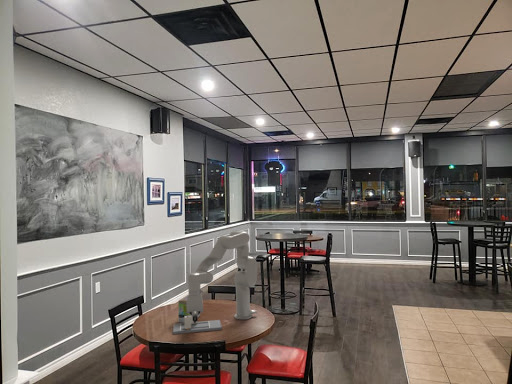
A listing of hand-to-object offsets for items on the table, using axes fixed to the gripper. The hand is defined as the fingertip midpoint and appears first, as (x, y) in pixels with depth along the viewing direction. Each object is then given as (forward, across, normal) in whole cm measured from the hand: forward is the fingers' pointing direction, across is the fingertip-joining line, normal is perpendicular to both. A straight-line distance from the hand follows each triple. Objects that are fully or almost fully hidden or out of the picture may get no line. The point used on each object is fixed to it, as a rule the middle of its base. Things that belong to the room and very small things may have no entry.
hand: (195, 322), depth 221 cm
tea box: (+6, +4, -23) cm, 24 cm away
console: (+5, -1, -4) cm, 7 cm away
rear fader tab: (+3, +1, -8) cm, 9 cm away
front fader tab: (+3, +4, 0) cm, 6 cm away
